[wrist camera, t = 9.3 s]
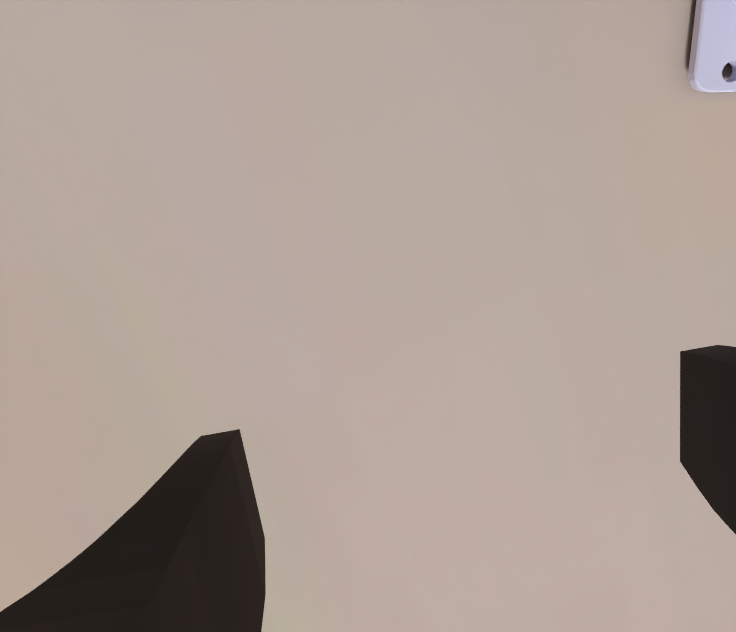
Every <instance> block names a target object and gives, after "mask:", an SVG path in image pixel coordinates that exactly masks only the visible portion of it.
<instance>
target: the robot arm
mask: <svg viewBox="0 0 736 632" xmlns="http://www.w3.org/2000/svg"><path fill="white" fill-rule="evenodd" d="M727 63H730V65H731V66H732V74H731V77H730V78H729V79H728V80H727V81H725V80H724V79H723V78H722V70H723V67H724V66H725V65H726V64H727ZM688 77H689V82H690V84H691V86H692V87H693V88H694V89H695V90H697V91H701V92H736V0H697V1H696V10H695V18H694V27H693V36H692V45H691V53H690V62H689V71H688ZM680 462H681V463H682V465H683V466H684V468H685V469H686V471H687V472H688V474H689V475H690V477H691V478H692V480H693V481H694V483H695V485H696V486H697V488H698V489H699V490H700V492H701V493H702V495H703V496H704V497H705V499H706V500H707V501H708V503H709V504H710V506H711V507H712V508H713V510H714V511H715V512H716V513H717V514H718V515H719V516H720V518H721V519H722V520H723V521H724V522H725V523H726V524H727V525H728V526H729V528H730V529H731V530H732V531H733V532H734V533H735V534H736V347H731V346H721V345H715V346H709V347H703V348H698V349H692V350H686V351H681V352H680ZM264 602H265V537H264V533H263V529H262V524H261V520H260V516H259V511H258V507H257V503H256V498H255V494H254V490H253V485H252V481H251V477H250V473H249V468H248V464H247V460H246V455H245V451H244V447H243V442H242V438H241V434H240V429H239V430H233V431H227V432H222V433H216V434H210V435H205V436H201V437H200V438H198V439H197V440H196V441H195V442H194V443H193V444H192V445H191V446H190V447H189V448H188V449H187V450H186V451H185V452H184V453H183V454H182V456H181V457H180V458H179V459H178V460H177V461H176V462H175V463H174V464H173V465H172V466H171V467H170V468H169V469H168V471H167V472H166V473H165V474H164V475H163V476H162V477H161V478H160V479H159V480H158V481H157V482H156V483H155V484H154V485H153V486H152V487H151V488H150V489H149V490H148V491H147V492H146V493H145V495H144V496H143V497H142V498H141V499H140V500H139V501H138V502H137V503H136V504H134V505H133V506H132V507H131V508H130V509H129V510H128V511H127V512H126V513H125V514H124V515H123V516H122V517H121V518H120V519H118V520H117V521H116V522H115V523H114V524H113V525H112V526H111V527H110V528H109V529H108V530H107V531H106V532H105V533H104V534H102V535H101V536H100V537H99V538H98V539H97V540H96V541H95V542H94V543H92V544H91V545H90V546H89V547H88V548H87V549H85V550H84V551H83V552H82V553H81V554H79V555H78V556H77V557H76V558H75V559H73V560H72V561H71V562H70V563H68V564H67V565H66V566H64V567H63V568H62V569H60V570H59V571H58V572H57V573H55V574H54V575H53V576H51V577H50V578H49V579H47V580H46V581H45V582H44V583H42V584H41V585H39V586H38V587H37V588H35V589H34V590H33V591H31V592H30V593H28V594H27V595H25V596H24V597H22V598H21V599H19V600H18V601H16V602H15V603H13V604H12V605H10V606H9V607H7V608H6V609H4V610H3V611H1V612H0V632H261V628H262V620H263V611H264Z"/></svg>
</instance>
